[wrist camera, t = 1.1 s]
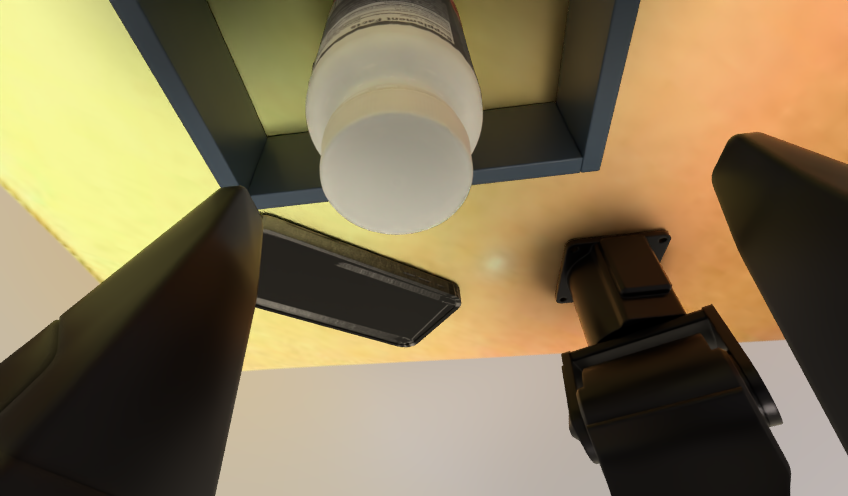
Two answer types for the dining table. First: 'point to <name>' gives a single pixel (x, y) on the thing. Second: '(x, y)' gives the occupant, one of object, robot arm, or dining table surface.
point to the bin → (296, 153)
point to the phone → (348, 287)
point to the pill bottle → (394, 113)
